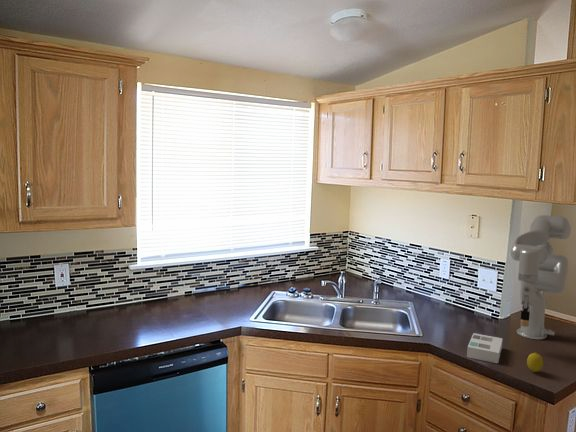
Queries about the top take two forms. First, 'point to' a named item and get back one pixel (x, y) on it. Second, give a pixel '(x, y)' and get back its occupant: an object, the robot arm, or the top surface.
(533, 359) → the lemon
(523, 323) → the light wood cylinder
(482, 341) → the socket block
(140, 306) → the top surface
